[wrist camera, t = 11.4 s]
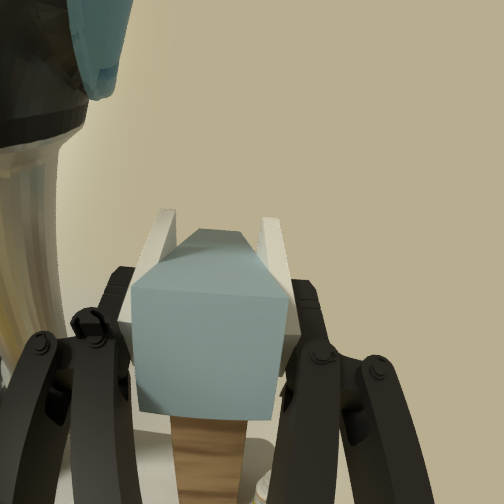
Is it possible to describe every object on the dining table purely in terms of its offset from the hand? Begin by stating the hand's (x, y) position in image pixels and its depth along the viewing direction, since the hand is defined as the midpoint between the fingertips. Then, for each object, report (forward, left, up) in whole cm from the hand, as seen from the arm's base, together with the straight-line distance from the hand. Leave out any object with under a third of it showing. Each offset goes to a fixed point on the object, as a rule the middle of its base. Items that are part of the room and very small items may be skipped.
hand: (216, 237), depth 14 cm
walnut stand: (-7, +13, -41) cm, 43 cm away
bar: (-2, +3, -5) cm, 6 cm away
